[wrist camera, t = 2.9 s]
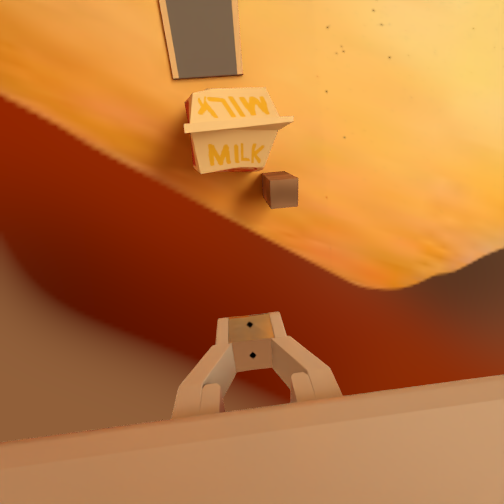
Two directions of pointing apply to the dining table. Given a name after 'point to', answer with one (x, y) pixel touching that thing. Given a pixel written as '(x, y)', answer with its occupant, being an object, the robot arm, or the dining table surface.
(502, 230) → the dining table surface
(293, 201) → the walnut block
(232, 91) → the milk carton
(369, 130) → the dining table surface
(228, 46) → the strip
